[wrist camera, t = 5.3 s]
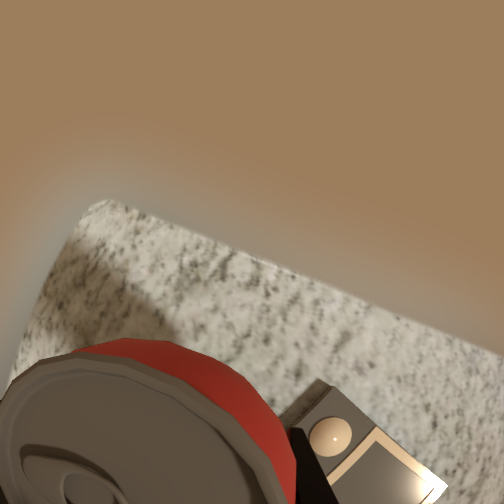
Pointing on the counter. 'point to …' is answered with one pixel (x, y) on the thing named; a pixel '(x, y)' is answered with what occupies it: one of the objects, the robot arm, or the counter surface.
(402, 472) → the slate card
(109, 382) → the beer can
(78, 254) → the counter surface
